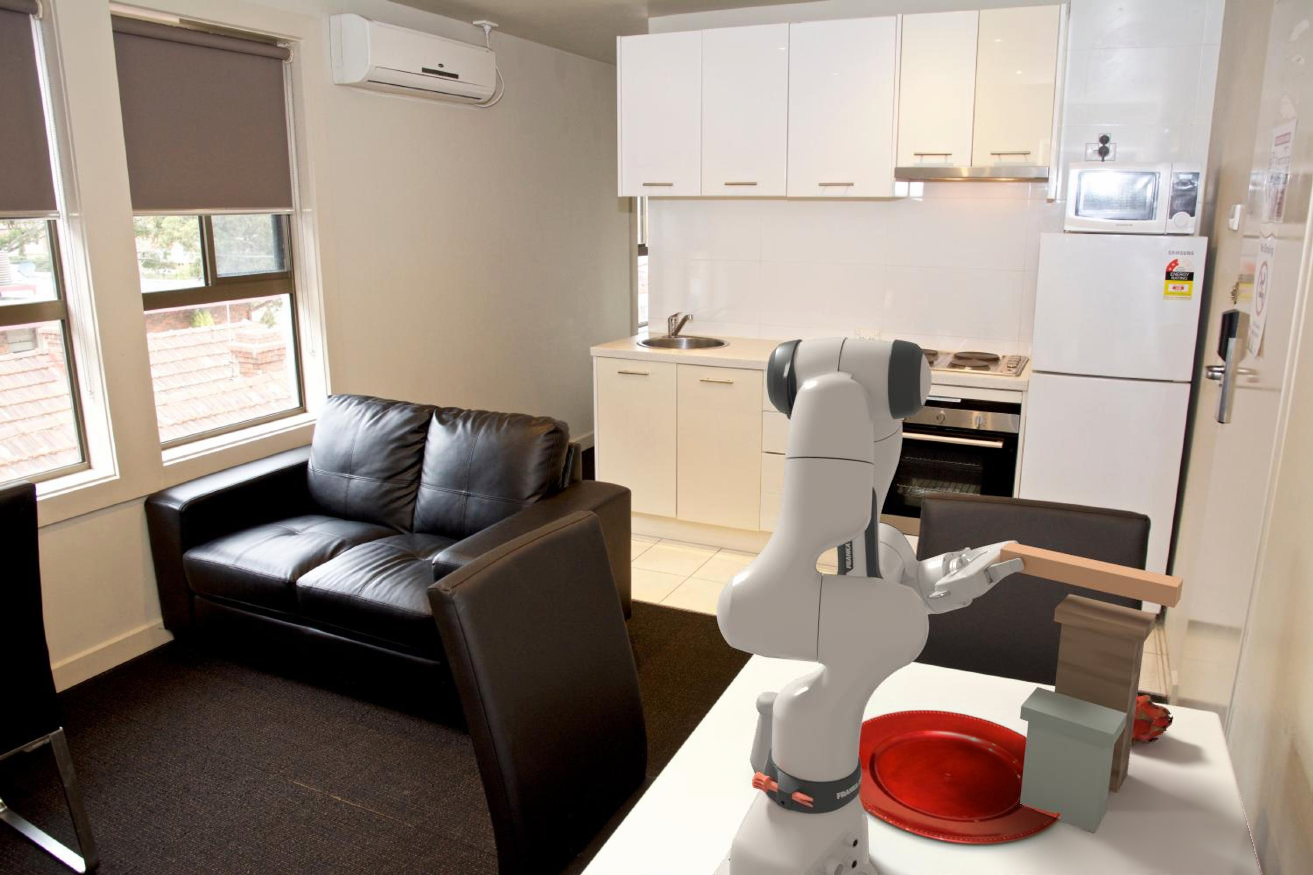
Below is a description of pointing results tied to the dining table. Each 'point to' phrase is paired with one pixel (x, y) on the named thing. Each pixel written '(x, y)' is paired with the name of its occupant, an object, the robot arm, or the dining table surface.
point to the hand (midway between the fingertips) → (1029, 557)
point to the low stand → (1069, 756)
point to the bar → (1096, 574)
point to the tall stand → (1103, 662)
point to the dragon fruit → (1149, 720)
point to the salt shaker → (763, 731)
